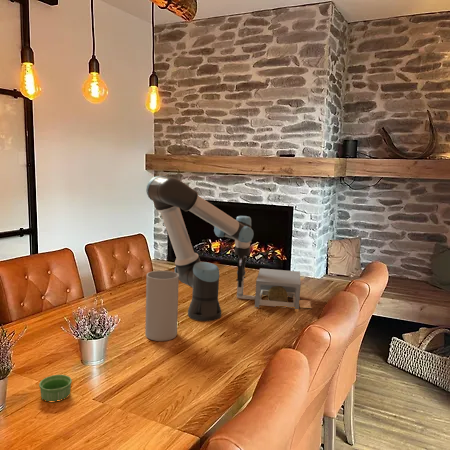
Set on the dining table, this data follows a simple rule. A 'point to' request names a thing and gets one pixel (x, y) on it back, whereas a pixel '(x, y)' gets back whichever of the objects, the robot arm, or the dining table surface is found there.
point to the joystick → (267, 302)
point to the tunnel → (278, 283)
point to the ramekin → (55, 387)
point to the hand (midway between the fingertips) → (240, 291)
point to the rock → (277, 294)
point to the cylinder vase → (161, 305)
